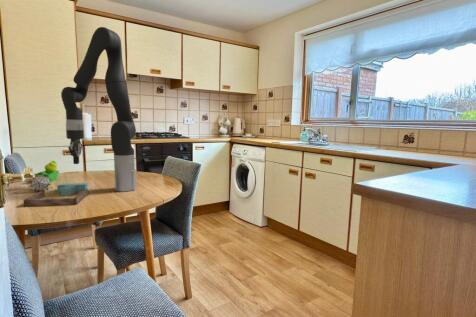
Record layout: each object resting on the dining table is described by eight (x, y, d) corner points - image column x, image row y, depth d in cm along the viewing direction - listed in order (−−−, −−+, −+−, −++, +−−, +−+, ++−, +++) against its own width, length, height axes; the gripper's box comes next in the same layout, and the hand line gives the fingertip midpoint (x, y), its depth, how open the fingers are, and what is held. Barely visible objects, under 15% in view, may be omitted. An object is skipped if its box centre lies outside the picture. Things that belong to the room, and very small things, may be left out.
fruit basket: (45, 179, 159) (44, 159, 158) (62, 179, 160) (61, 159, 159) (33, 184, 148) (31, 162, 146) (51, 184, 149) (50, 162, 147)
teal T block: (87, 188, 140) (87, 182, 140) (80, 194, 129) (80, 188, 129) (60, 189, 138) (60, 183, 137) (51, 195, 127) (50, 189, 127)
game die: (38, 199, 133) (21, 185, 127) (40, 189, 140) (24, 175, 134) (56, 189, 135) (40, 175, 128) (57, 180, 141) (42, 165, 135)
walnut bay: (88, 194, 130) (88, 189, 129) (76, 204, 115) (76, 198, 115) (42, 196, 126) (41, 190, 126) (23, 206, 111) (23, 200, 111)
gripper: (78, 129, 135) (80, 166, 137) (87, 128, 147) (88, 161, 150) (61, 129, 133) (63, 166, 135) (71, 128, 146) (72, 161, 148)
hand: (76, 163), depth 143 cm, fingers closed
